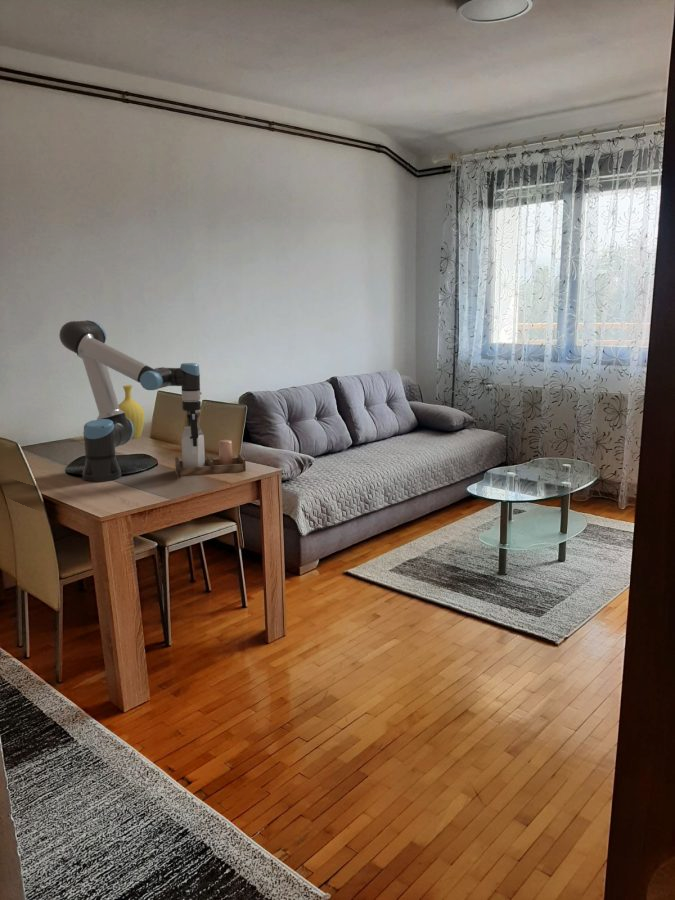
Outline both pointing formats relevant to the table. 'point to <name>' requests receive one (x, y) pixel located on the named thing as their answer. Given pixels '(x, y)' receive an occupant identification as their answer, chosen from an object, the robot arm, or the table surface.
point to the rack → (211, 466)
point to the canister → (225, 452)
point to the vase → (133, 412)
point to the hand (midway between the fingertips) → (193, 450)
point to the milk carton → (187, 455)
